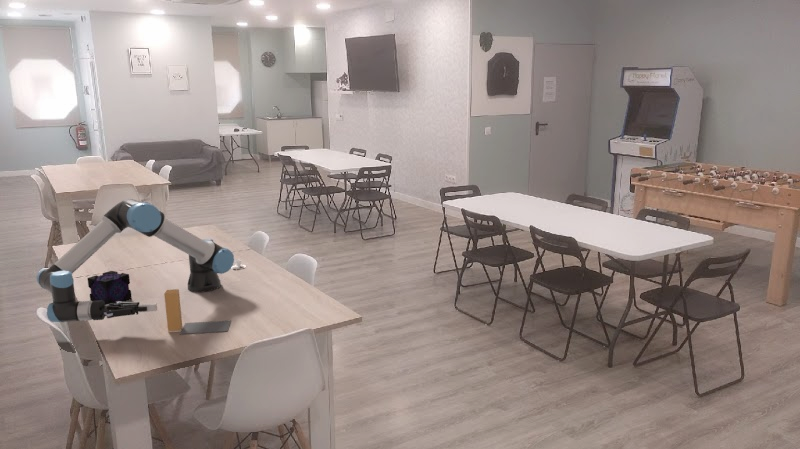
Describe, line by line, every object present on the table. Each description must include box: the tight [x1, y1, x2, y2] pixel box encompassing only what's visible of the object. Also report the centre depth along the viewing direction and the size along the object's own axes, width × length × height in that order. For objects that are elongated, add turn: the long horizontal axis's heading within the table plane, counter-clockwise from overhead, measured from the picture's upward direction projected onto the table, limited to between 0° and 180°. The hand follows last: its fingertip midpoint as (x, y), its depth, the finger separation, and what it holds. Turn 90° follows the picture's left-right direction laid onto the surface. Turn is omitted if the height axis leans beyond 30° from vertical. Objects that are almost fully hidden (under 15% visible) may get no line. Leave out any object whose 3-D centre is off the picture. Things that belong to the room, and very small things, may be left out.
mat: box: [179, 319, 232, 335], centre depth 240 cm, size 18×11×1 cm, turn 98°
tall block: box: [163, 288, 183, 333], centre depth 237 cm, size 4×4×16 cm
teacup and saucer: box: [231, 259, 247, 270], centre depth 321 cm, size 9×8×4 cm
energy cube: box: [87, 270, 133, 304], centre depth 270 cm, size 12×12×12 cm
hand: (156, 307), depth 236 cm, fingers closed
